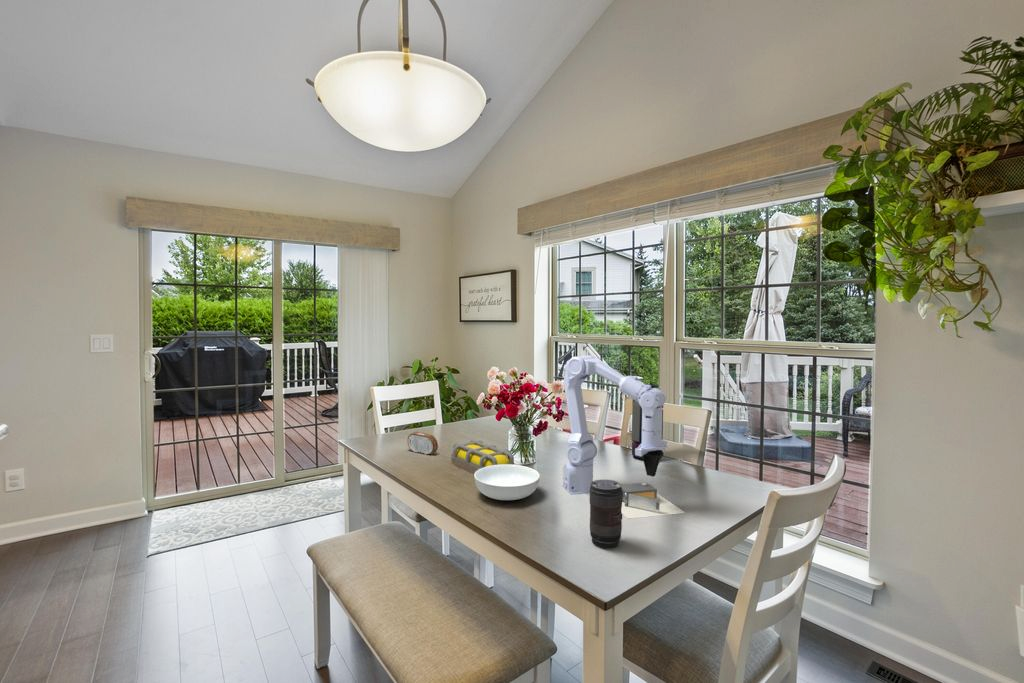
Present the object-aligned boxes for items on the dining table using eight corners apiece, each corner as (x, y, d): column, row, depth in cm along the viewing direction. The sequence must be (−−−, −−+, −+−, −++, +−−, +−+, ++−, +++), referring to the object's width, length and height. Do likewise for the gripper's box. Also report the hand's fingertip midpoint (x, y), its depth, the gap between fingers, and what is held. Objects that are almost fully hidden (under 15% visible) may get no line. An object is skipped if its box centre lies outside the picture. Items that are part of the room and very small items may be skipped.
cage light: (474, 436, 196) (522, 452, 173) (474, 456, 196) (522, 474, 173) (444, 442, 187) (490, 460, 164) (444, 462, 187) (490, 483, 164)
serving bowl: (486, 512, 139) (486, 489, 139) (466, 488, 159) (466, 468, 158) (551, 502, 147) (551, 480, 147) (523, 480, 166) (523, 461, 166)
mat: (628, 519, 134) (628, 518, 134) (604, 498, 150) (604, 497, 150) (685, 513, 138) (685, 512, 138) (656, 493, 154) (656, 492, 154)
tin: (438, 455, 197) (438, 434, 197) (433, 456, 194) (433, 436, 194) (411, 449, 205) (411, 430, 205) (406, 451, 202) (406, 431, 202)
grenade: (643, 452, 202) (644, 381, 200) (668, 458, 192) (669, 384, 191) (622, 458, 193) (623, 384, 191) (647, 465, 184) (648, 387, 182)
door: (624, 506, 143) (624, 493, 143) (625, 504, 144) (625, 492, 144) (658, 513, 138) (658, 500, 137) (659, 512, 139) (659, 499, 138)
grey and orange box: (623, 505, 144) (623, 490, 143) (614, 498, 149) (614, 483, 149) (656, 502, 146) (657, 487, 146) (646, 495, 152) (647, 480, 152)
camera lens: (617, 534, 125) (617, 478, 124) (625, 549, 117) (626, 489, 116) (586, 535, 125) (586, 478, 124) (592, 550, 117) (593, 489, 116)
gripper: (651, 436, 133) (650, 484, 134) (676, 428, 143) (675, 473, 144) (629, 432, 138) (628, 478, 139) (655, 424, 148) (654, 467, 149)
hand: (651, 475), depth 142 cm, fingers closed
